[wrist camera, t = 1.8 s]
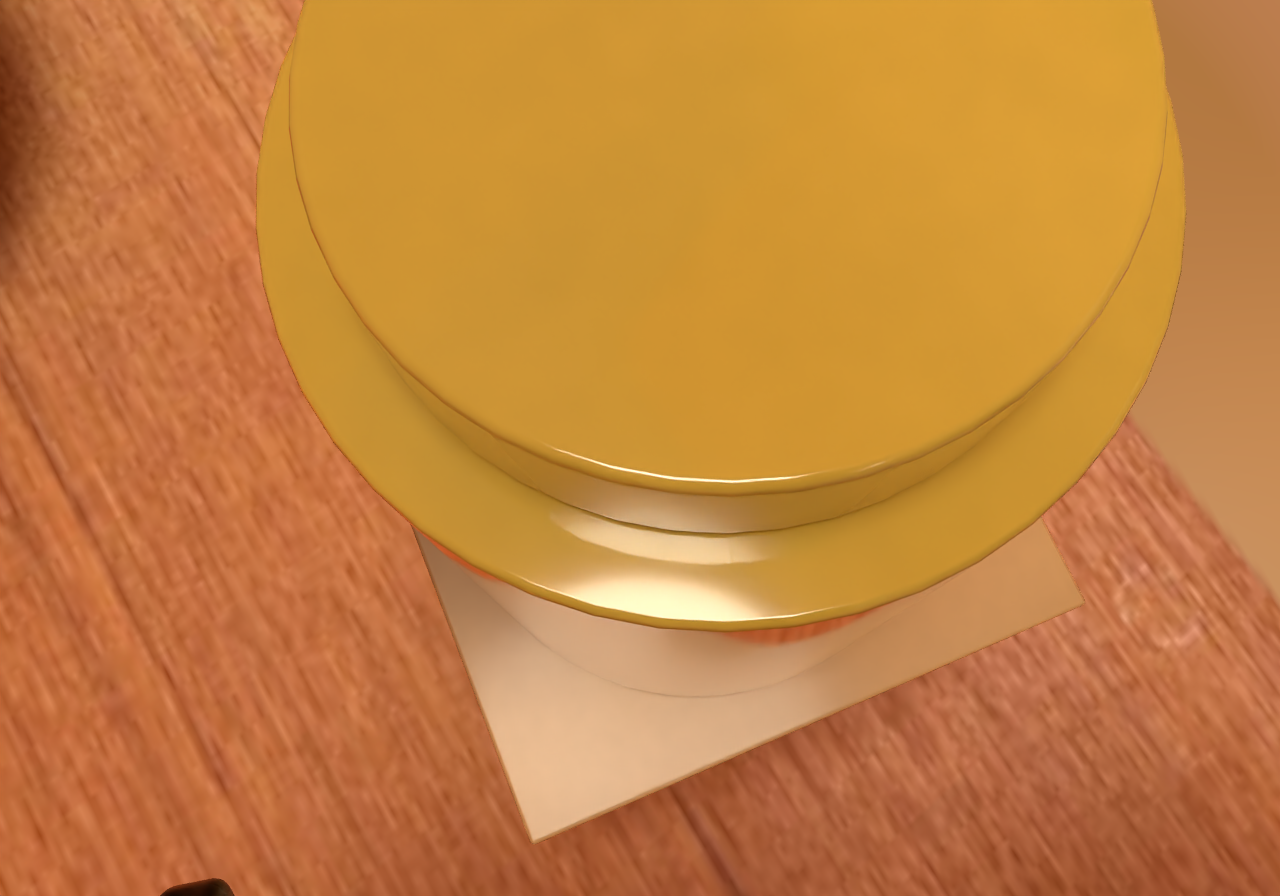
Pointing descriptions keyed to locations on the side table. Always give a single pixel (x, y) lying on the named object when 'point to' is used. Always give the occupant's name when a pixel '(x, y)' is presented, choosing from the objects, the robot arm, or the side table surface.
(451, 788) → the side table surface
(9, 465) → the side table surface
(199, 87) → the side table surface
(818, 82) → the jar
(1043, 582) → the cube
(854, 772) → the side table surface
